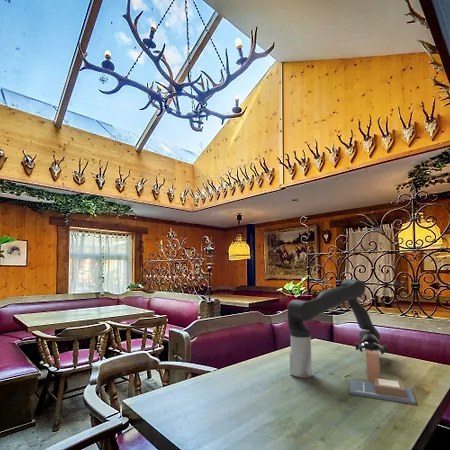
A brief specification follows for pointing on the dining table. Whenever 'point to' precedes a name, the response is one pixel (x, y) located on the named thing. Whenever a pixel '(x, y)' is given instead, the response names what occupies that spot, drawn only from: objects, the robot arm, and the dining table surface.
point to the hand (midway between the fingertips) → (371, 351)
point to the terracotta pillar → (372, 365)
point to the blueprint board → (371, 390)
